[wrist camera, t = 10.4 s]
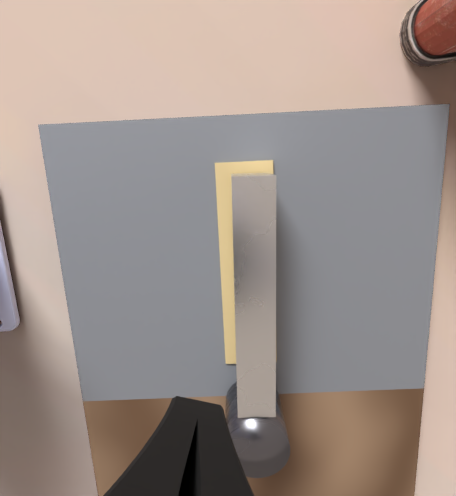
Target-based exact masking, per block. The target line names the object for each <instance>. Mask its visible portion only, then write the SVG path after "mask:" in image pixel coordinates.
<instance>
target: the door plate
mask: <svg viewBox="0 0 456 496" xmlns="http://www.w3.org/2000/svg"><path fill="white" fill-rule="evenodd" d="M449 106H450V104H439V105H419V106H399V107H380V108H360V109H340V110H320V111H301V112H281V113H261V114H241V115H222V116H202V117H182V118H162V119H143V120H123V121H103V122H83V123H64V124H44V125H38V127H39V133H40V139H41V145H42V152H43V158H44V164H45V170H46V176H47V182H48V189H49V195H50V201H51V207H52V213H53V220H54V226H55V232H56V238H57V244H58V250H59V257H60V263H61V269H62V275H63V281H64V287H65V294H66V300H67V306H68V312H69V318H70V324H71V331H72V337H73V343H74V349H75V355H76V361H77V368H78V374H79V380H80V386H81V392H82V398H83V401H105V400H131V399H157V398H174V397H176V396H180V397H210V396H226V395H227V392H228V390H229V389H230V387H231V386H232V385H233V384H234V383H235V382H237V376H236V338H235V300H234V262H233V224H232V186H231V174H234V173H271V174H274V175H276V389H277V391H278V393H279V394H289V393H315V392H341V391H368V390H394V389H420V388H424V382H425V371H426V360H427V349H428V338H429V327H430V316H431V305H432V294H433V283H434V272H435V261H436V250H437V238H438V227H439V216H440V205H441V194H442V183H443V172H444V161H445V150H446V139H447V128H448V117H449Z"/></svg>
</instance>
